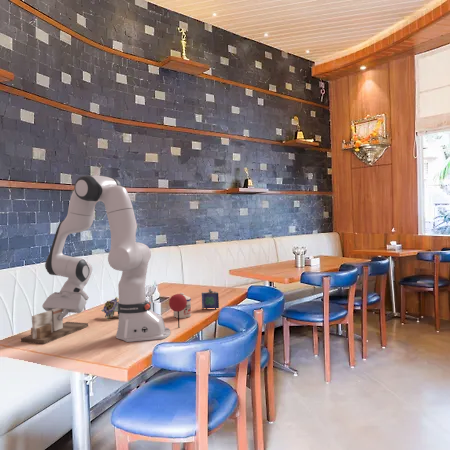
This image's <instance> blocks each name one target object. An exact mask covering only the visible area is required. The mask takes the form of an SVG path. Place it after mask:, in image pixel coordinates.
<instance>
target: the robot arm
mask: <svg viewBox="0 0 450 450" xmlns="http://www.w3.org/2000/svg"><path fill="white" fill-rule="evenodd" d="M98 202H102V203H103V205H104V207H105V212H106V216H107V221H108V225H109V230H110V250H109V252H108V256H107V261H108V264H109V266H110V267H111V268H112V269H113V270H115V271H120V272H122V273H121V277H120V280H119V281H118V285H117V287H118V289H117V291H118V302H119V303H118V312H117V317H118V322H117V331H116V334H115V337H116V338H117V340H121V341H124V342H127V343H130V342H140V341H142V342H143V341H152V340H153V341H154V340H162V339H165V338H167V337H169V336H170V335H171V329H170V328H169V327H166V325H165V321H164V318H163V316H160V315H159V314H158V313H156V312H155V311H154V310H152V309H151V307H152V305H151V304H152V302H151V301H147V300H146V279H147V273H148V267H149V266H148V265H149V261H150V259H151V257H152V252H151V249H150V247H149V246H148V245H147V244H145V243H142V242H138V241H137V239H136V236H137V235H136V234H137V228H138V224H137V223H138V222H137V218H136V216H135V210H134V205H133V203H132V201H131V198H130V195H129V193H128V191H127V188H126V187H124V186H122V183H121V182H120V181H119V180H118V179H116V178H115V177H112V176H105V175H104V176H103V175H97V174H95V175H88V174H87V175H82V176H80V177H78V178H77V179H76V180H75V183H74V190H73V191H72V193H71V196H70V199H69V202H68V203H69V204H68V209H67V215H66V217H65V219H63V220H61V221H60V222H59V223H58V225H57V229H56V231H55V234H54V237H53V241H52V244H51V247H50V251H49V253H48V255H47V258H46V261H45V263H44V267H45V270H46V271H47V273H48V274H49V275H51V276H60V277H64V278H68V279H67V280H66V281H65V282H64V284H63V285H62V287H61V289H60V290H59V292H58V291H57V292H53V293H50V295H49V296H48V297H47V298H46V299H45V300H44V302H43V304H42V306H41V307H42V308H43V310H45V312H47V311H50V310H52V309H56V308H61V309H62V314H61V315H58V317H57V319H58V320H62V319H64V318H65V317H66V316H68V315H69V313H73V314H80V313H82V312H83V310H84V308H85V306H86V304H87V301H88V300H89V297H90V296H89V295H88V294H87V293H86V292H85V291H84V289H85V286H86V285H87V284H88V282H89V279H90V278H91V275H92V274H93V273H92V272H93V266H92V265H91V263H90V262H88V261H86V260H85V259H83V258H80V257H75V256H70V255H66V254H64V253H63V250H64V247H65V244H66V239H67V237H68V236H69V235H71V234H77V233H81V232H84V231H87V230H88V229H89V228H91V227H92V225H93V222H94V218H95V210H96V208H95V207H96V204H97V203H98Z"/></svg>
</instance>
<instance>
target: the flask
mask: <svg viewBox="0 0 450 450" xmlns="http://www.w3.org/2000/svg"><path fill="white" fill-rule="evenodd" d="M219 297H220V296H219V292H218V291H213V290H212V289H211V288H209V289H208V291H204V292H203V291H202V292H201V309H202V308H215V309H216V308H219V309H220V301H219V300H220V299H219Z"/></svg>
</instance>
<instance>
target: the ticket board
mask: <svg viewBox="0 0 450 450" xmlns="http://www.w3.org/2000/svg"><path fill="white" fill-rule="evenodd" d="M88 327H89V322H77V321H66V322H63V328H62V329H59V330H56V331H53V311H52V310H50V311H44V312H41V313H36V314H33V315H31V328H30V334H29V335H26V336H23V337H20V342H21V343H29V344H36V345H37V344H39V345H45V344H48V343H50V342H53V341H56V340H58V339H61V338H63V337H66V336H67V335H71V334H72V333H75V332H78V331H81V330H83V329H85V328H88Z"/></svg>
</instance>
